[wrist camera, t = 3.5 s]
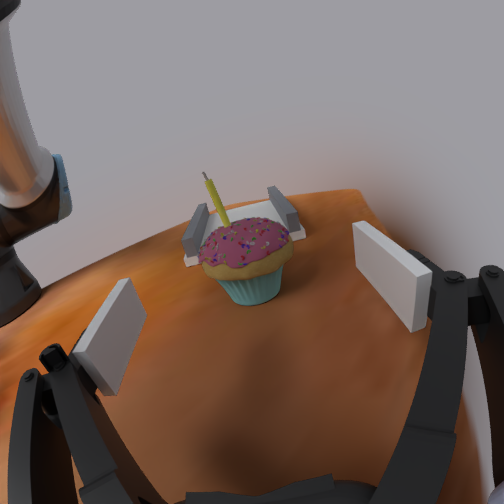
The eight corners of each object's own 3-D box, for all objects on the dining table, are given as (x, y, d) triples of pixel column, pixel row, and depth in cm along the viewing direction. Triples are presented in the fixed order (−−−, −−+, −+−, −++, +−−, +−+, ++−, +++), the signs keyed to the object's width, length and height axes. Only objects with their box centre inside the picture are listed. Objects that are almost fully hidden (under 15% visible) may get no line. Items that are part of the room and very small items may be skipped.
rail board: (306, 238, 36) (301, 210, 35) (186, 266, 37) (177, 241, 35) (281, 203, 55) (277, 185, 53) (201, 223, 55) (196, 205, 54)
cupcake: (200, 318, 25) (155, 189, 21) (230, 272, 32) (201, 168, 28) (294, 317, 22) (262, 164, 18) (305, 266, 30) (283, 151, 25)
